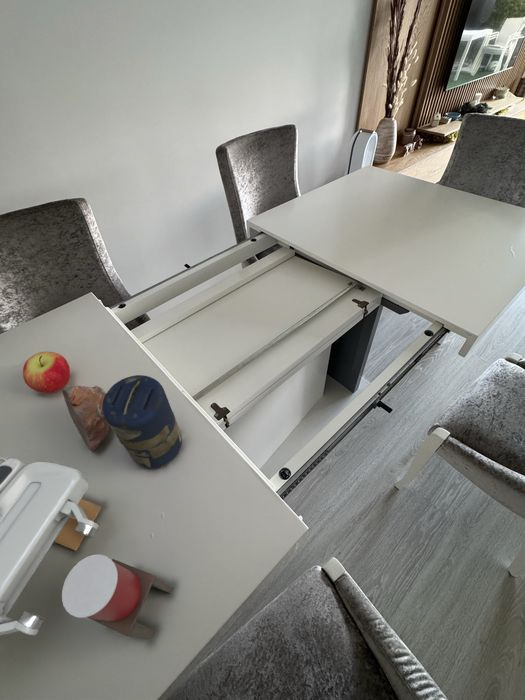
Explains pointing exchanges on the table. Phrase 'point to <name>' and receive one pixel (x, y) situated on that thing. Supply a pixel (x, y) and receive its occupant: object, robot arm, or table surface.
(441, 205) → the table surface
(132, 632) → the brown wooden stand
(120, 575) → the tube
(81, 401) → the stone
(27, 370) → the apple
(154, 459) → the canister
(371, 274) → the table surface
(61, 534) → the coaster
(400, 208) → the table surface
